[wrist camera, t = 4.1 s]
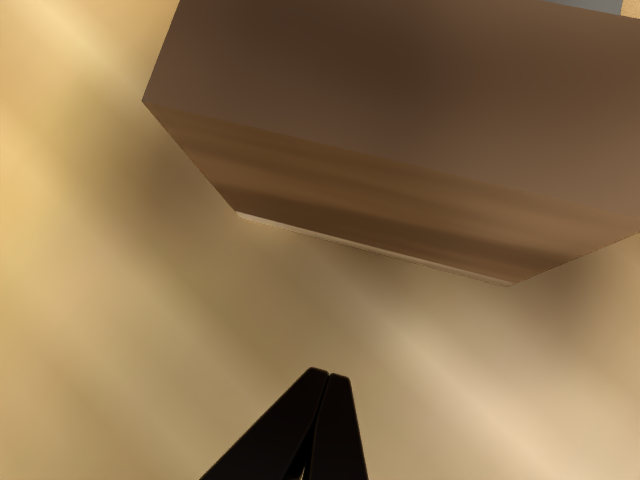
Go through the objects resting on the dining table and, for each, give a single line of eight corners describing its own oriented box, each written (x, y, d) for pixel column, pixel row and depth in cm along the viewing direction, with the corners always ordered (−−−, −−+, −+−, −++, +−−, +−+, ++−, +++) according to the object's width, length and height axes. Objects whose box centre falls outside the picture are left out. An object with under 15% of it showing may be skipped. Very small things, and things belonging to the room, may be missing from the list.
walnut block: (505, 287, 17) (661, 223, 9) (240, 218, 19) (141, 100, 10) (527, 183, 18) (689, 28, 9) (271, 123, 19) (204, -63, 11)
